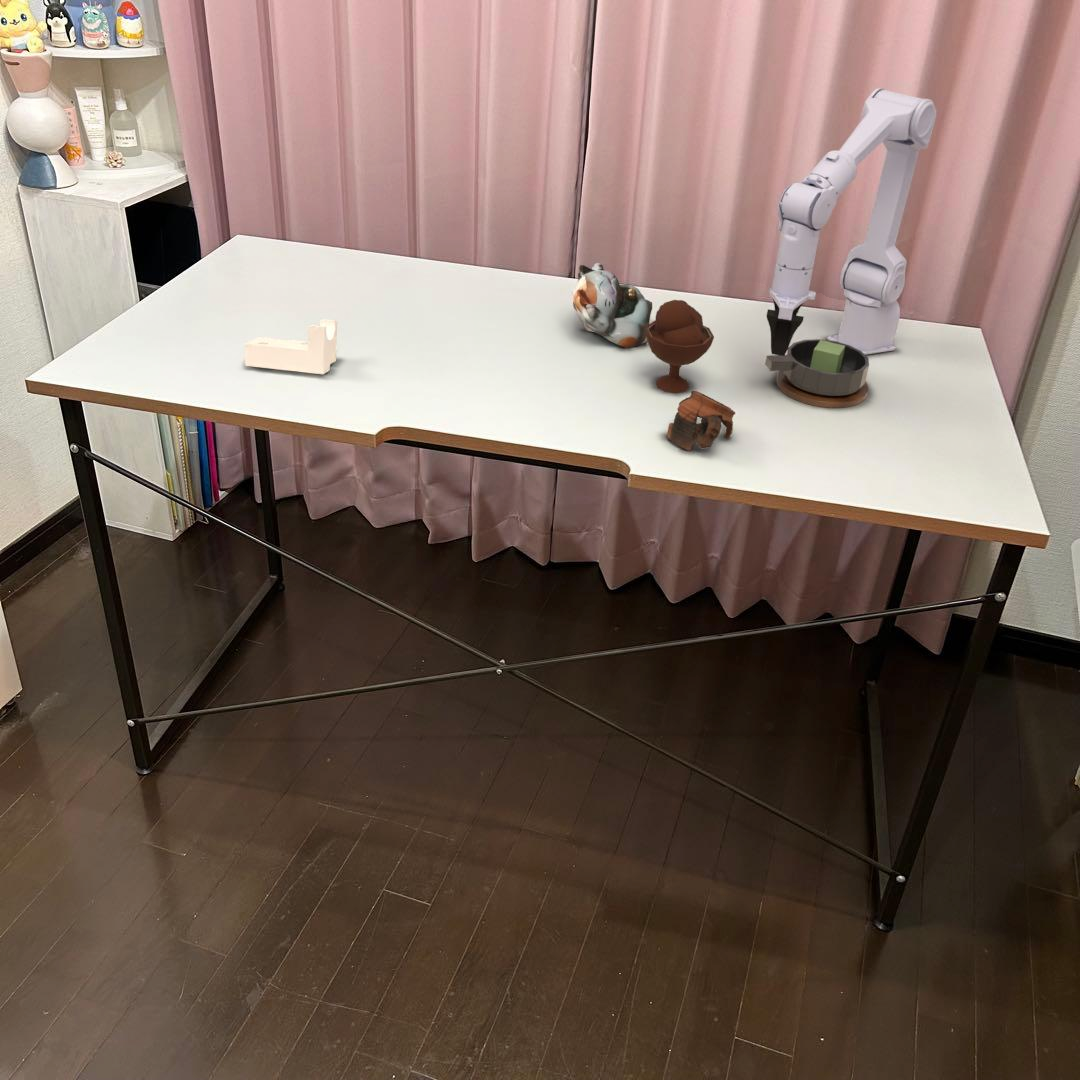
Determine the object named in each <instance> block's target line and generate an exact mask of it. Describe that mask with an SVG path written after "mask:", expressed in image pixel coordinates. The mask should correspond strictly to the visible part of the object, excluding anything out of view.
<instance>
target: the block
mask: <svg viewBox="0 0 1080 1080" xmlns="http://www.w3.org/2000/svg"><path fill="white" fill-rule="evenodd" d="M823 340H824V339H822V340H820V341H819V343H818V344H817V346H816V347H815V348H814V351H813V356H812V361H811V366H810V368H813V369H816V370H820V371H825V372H833V373H839V372H840V368H841V363H842V359H843V354H844V350H845V346H844V345H840V344H836V343H831V342H827V341H823Z"/></svg>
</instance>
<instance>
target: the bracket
mask: <svg viewBox="0 0 1080 1080" xmlns="http://www.w3.org/2000/svg"><path fill="white" fill-rule="evenodd" d="M337 344H338V320H334V319H325V318H321V319H320V320H319V325H318V324H309V325H308V327H307V341H301V340H294V339H293V340H291V339H283V338H274V337H265V336H259V337H257V338H254V339H252V340H249V341H248V342H246V343H244V366H246V367H254V368H255V367H256V368H263V369H272V370H280V371H290V372H299V373H308V374H317V375H325V374H327V373H328V372H330V371H331V365H332V364H333V363H335V362H336V361H337V349H338V348H337V346H338V345H337Z"/></svg>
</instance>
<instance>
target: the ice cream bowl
mask: <svg viewBox="0 0 1080 1080" xmlns="http://www.w3.org/2000/svg"><path fill="white" fill-rule="evenodd" d="M645 333H646V338H647V344H648V347H649V348H650V350H651V353H652V354H653V355H654V356H655V357H656V358H657V359H659V360H660V361H662V362H663V363H666V364H668V366H669V369H668V373H667V374H665V375H662V376H660V377H658V379H657V380H656V381H655V385H656V387H657V389H659V390H661V391H663V392H665V393H672V394H680V393H685V392H687V391H688V390H689V389H690V383H689V382H688V380H687V379H686V378H684V377H682V376H681V375H680V374H681V368H682V366H688V365H690V364H693V363H695V362H696V361H699V359H700V358H702V356H704V355H705V354H706V353H707V352H708V351H709V350H710V348H711V346H712V344H713V342H714V339H715V336H714V334H713V332H712V331H711V329H710V327H708V326H705V325H704V322H703V315H702V314H701V313H700V312H699V311H698V310H697V309H695V308H694V307H692V306H691V305H690V304H689V303H688V302H686V300H683V299H680V300H679V299H671V300H669V301H666V302H664V303H662V304H661V305H660V306H659V308H658V310H657V311H656V314H655V320H653V321H652V322H651V323H649V325H648V326H647V327H646V328H645Z"/></svg>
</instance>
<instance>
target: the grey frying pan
mask: <svg viewBox="0 0 1080 1080" xmlns="http://www.w3.org/2000/svg"><path fill="white" fill-rule="evenodd" d="M820 340H823V341H827V342H831V343H836V344H840V345H844V346H845V350H844V354H843V359H842V363H841V368H840V372H839V373H833V372H825V371H820V370H816V369H813V368H810V366H811V361H812V356H813V351H814V348H815V347H816V346H817V344H818V343H819V341H820ZM764 362H765V363H764V365H765V366H766V368H767V369H768V370H769V371H770V372H779V371H784V374H785V377H786V378H787V380H788V381H789V382H790V383H792V384H793V385H794V386H796V387H798V388H800V389H802V390H805V391H808V392H811V393H815V394H820V395H828V396H842V395H849V394H852V393H855V392H857V391H858V390H860V389H861V387H862V386H863V385H864V384H865V381H866V380H867V375H868V371H869V366H870V360H869V357H868V356H867V355H865V354H864V353H863V352H862V351H860V350H858V349H856V348H854V347H852V346H850V345H847V344H843V343H840V342H836V341H830V340H828V339H820V338H815V339H803V340H800V341H796V342H793V343H792V344H790V345H789V347H788V350H787V352H786V354H785V355H784V356H781V355H775V354H772V355H770V354H769V355H766V356H765V361H764ZM866 382H867V381H866Z"/></svg>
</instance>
